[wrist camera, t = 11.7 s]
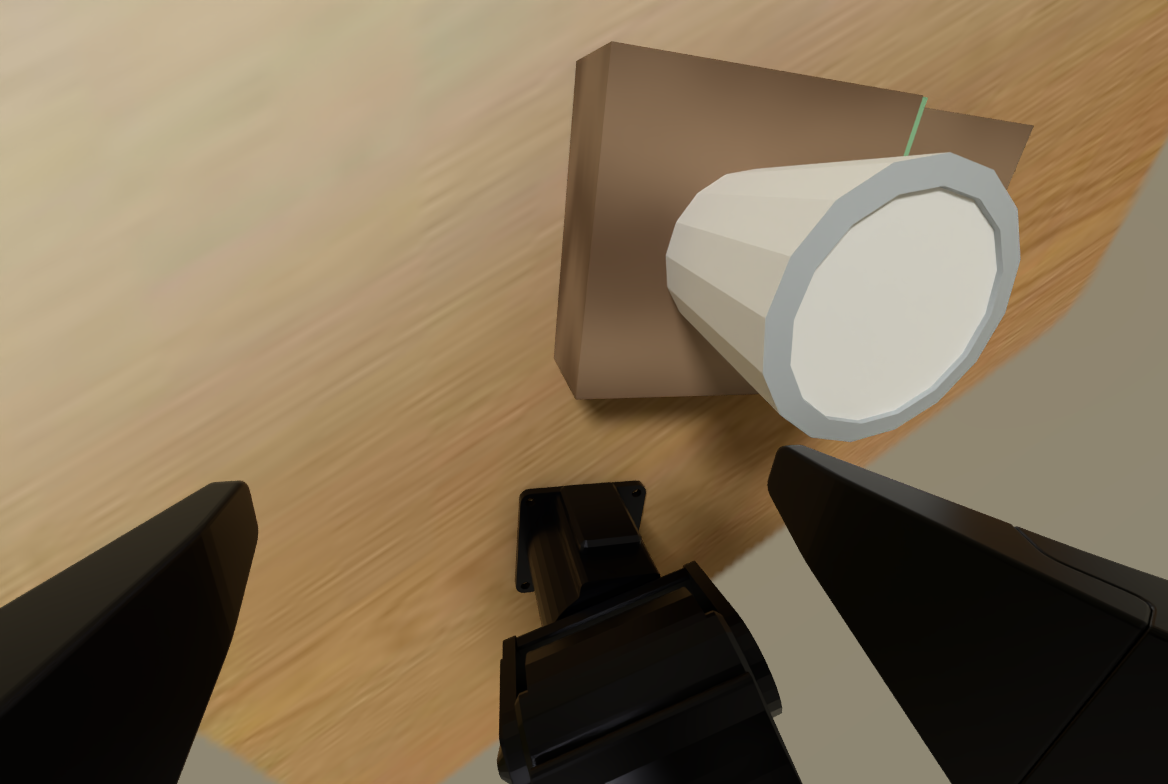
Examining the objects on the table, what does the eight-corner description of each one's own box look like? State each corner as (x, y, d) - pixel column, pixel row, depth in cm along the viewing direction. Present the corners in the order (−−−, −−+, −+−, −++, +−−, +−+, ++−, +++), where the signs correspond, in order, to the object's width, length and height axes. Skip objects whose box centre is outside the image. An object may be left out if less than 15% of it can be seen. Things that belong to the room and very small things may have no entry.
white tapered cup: (714, 104, 15) (899, 81, 9) (860, 205, 18) (1077, 238, 12) (613, 309, 17) (709, 401, 11) (758, 370, 20) (898, 470, 14)
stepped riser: (904, 356, 27) (972, 387, 24) (553, 358, 22) (575, 399, 18) (994, 127, 22) (1095, 125, 19) (576, 61, 17) (611, 41, 14)
